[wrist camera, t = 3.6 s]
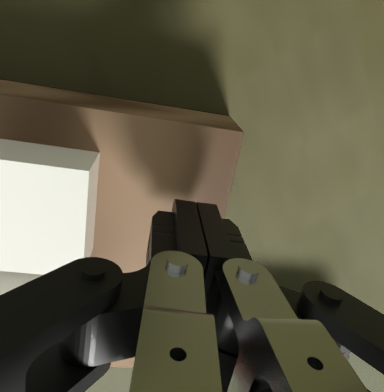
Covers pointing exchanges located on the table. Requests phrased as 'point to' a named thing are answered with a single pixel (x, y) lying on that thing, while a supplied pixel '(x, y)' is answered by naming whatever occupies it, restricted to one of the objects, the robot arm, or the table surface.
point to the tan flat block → (129, 158)
